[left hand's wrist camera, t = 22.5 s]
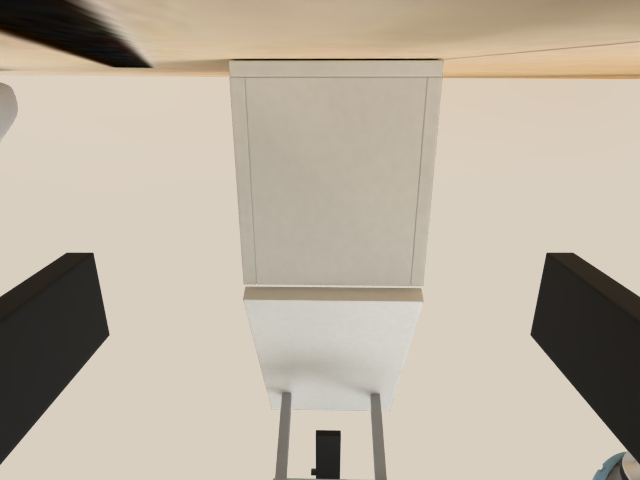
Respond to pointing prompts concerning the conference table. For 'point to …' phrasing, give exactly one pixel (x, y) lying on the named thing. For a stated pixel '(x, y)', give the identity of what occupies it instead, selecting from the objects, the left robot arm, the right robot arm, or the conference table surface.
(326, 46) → the conference table surface
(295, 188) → the chest
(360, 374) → the lid
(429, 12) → the conference table surface
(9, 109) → the projector
